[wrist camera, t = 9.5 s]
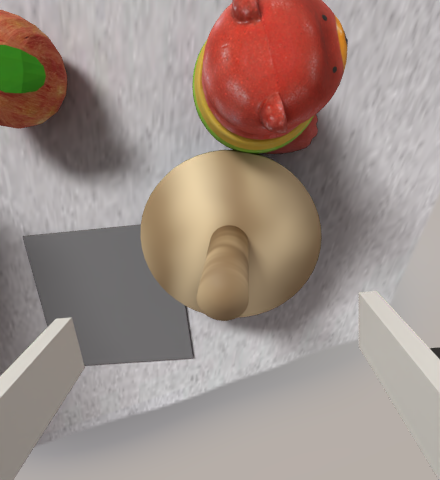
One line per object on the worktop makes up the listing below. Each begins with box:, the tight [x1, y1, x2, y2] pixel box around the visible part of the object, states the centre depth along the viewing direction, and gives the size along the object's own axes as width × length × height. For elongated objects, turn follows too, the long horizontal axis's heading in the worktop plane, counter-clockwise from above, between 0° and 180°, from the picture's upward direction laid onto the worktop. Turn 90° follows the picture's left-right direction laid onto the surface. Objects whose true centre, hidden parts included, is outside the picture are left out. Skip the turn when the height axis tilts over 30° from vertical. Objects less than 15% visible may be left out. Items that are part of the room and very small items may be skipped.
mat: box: [23, 225, 193, 365], centre depth 38 cm, size 16×16×1 cm
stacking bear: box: [193, 0, 348, 154], centre depth 24 cm, size 11×10×18 cm
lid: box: [141, 150, 321, 321], centre depth 26 cm, size 15×15×9 cm
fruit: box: [0, 10, 67, 128], centre depth 28 cm, size 9×10×10 cm
